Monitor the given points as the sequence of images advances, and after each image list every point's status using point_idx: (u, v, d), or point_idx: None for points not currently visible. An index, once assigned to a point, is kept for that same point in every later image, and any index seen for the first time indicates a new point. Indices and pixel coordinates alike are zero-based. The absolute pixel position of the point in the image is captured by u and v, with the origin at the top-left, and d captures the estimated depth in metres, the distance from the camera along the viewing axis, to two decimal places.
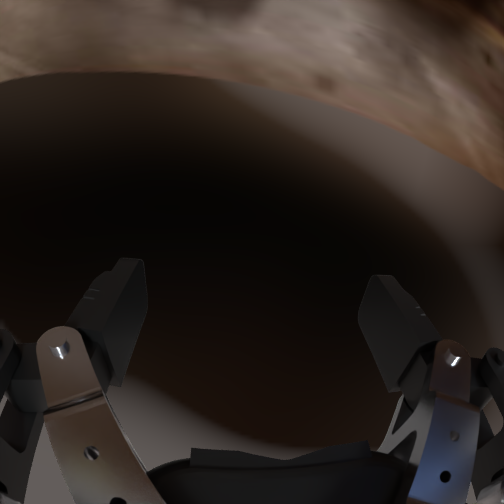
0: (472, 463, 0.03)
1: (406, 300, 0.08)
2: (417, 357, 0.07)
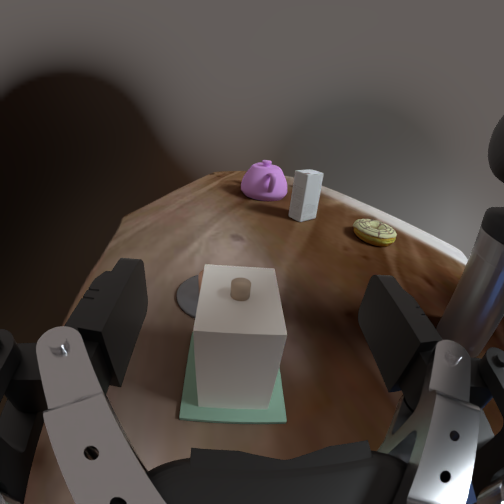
0: (472, 463, 0.03)
1: (406, 300, 0.08)
2: (417, 357, 0.07)
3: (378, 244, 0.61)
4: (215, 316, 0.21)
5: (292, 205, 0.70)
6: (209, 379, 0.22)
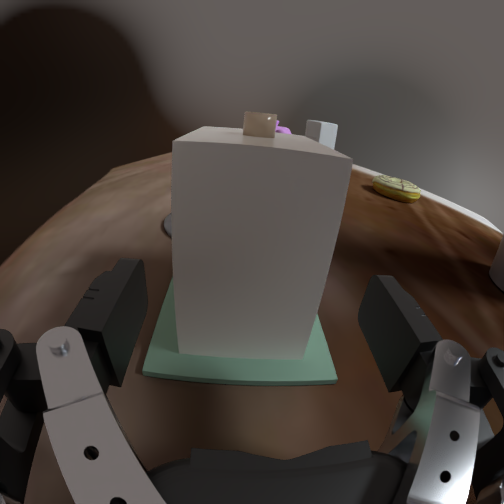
0: (472, 463, 0.03)
1: (406, 300, 0.08)
2: (417, 357, 0.07)
3: (402, 199, 0.51)
4: (218, 137, 0.11)
5: None
6: (198, 279, 0.12)
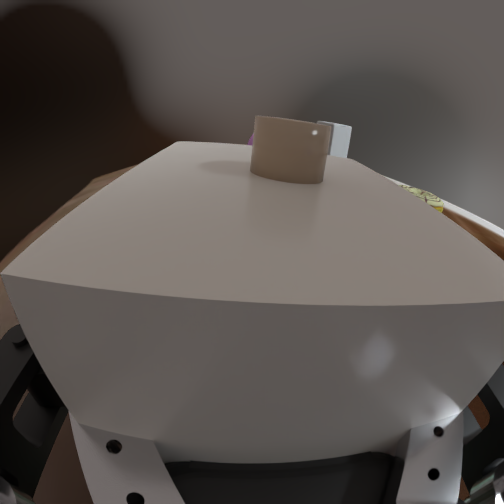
0: (460, 457, 0.03)
1: None
2: None
3: None
4: (175, 212, 0.04)
5: None
6: None
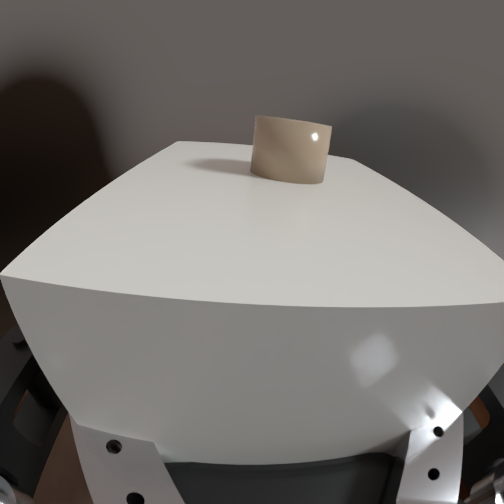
0: (460, 457, 0.03)
1: None
2: None
3: None
4: (175, 212, 0.03)
5: None
6: None
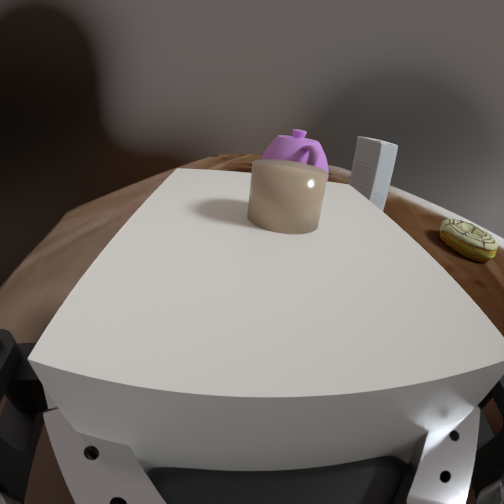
0: (472, 463, 0.03)
1: None
2: None
3: (481, 259, 0.32)
4: (176, 286, 0.04)
5: None
6: None
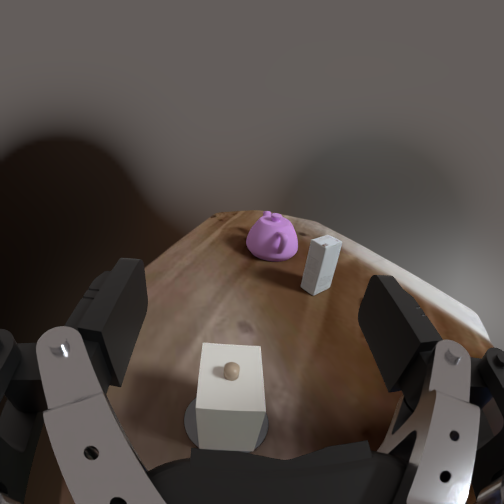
0: (472, 463, 0.03)
1: (406, 300, 0.08)
2: (417, 357, 0.07)
3: None
4: (212, 395, 0.25)
5: (305, 276, 0.62)
6: (207, 433, 0.26)
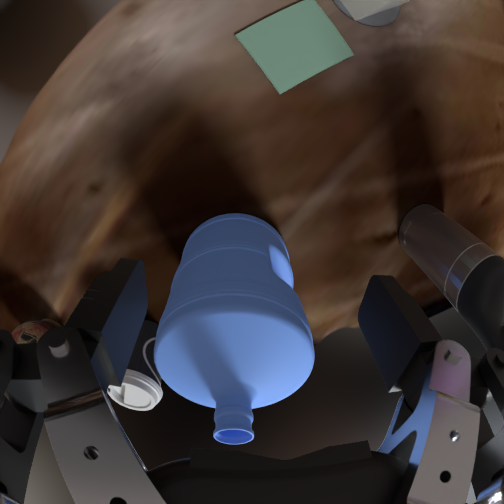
0: (472, 463, 0.03)
1: (406, 300, 0.08)
2: (417, 357, 0.07)
3: None
4: None
5: None
6: None
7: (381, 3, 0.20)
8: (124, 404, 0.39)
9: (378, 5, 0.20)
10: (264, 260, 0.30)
